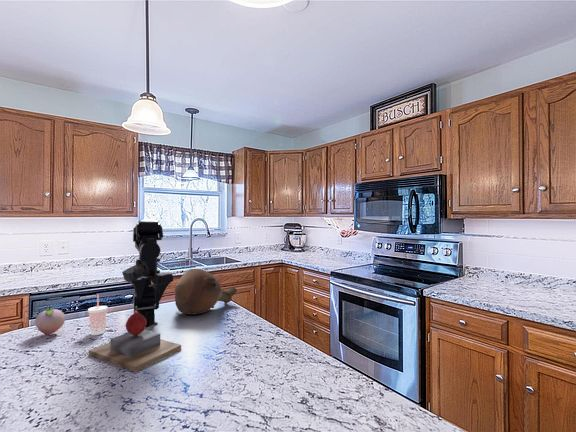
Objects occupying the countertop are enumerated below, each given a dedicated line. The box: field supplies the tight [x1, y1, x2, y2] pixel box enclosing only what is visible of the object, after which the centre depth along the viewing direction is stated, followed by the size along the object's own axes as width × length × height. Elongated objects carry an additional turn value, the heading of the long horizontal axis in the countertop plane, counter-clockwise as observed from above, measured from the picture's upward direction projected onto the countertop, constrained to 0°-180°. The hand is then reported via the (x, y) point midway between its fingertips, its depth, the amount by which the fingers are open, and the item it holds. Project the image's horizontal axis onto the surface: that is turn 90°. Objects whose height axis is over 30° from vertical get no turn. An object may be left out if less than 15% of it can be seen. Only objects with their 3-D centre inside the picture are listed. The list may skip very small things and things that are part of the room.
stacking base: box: [88, 329, 182, 373], centre depth 94 cm, size 22×16×5 cm
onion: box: [125, 310, 147, 336], centre depth 94 cm, size 6×6×8 cm
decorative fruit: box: [34, 306, 66, 336], centre depth 108 cm, size 9×8×10 cm
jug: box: [174, 268, 238, 315], centre depth 136 cm, size 20×20×30 cm
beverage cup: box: [87, 293, 108, 336], centre depth 110 cm, size 6×6×14 cm
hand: (148, 301), depth 105 cm, fingers open, 9 cm apart
